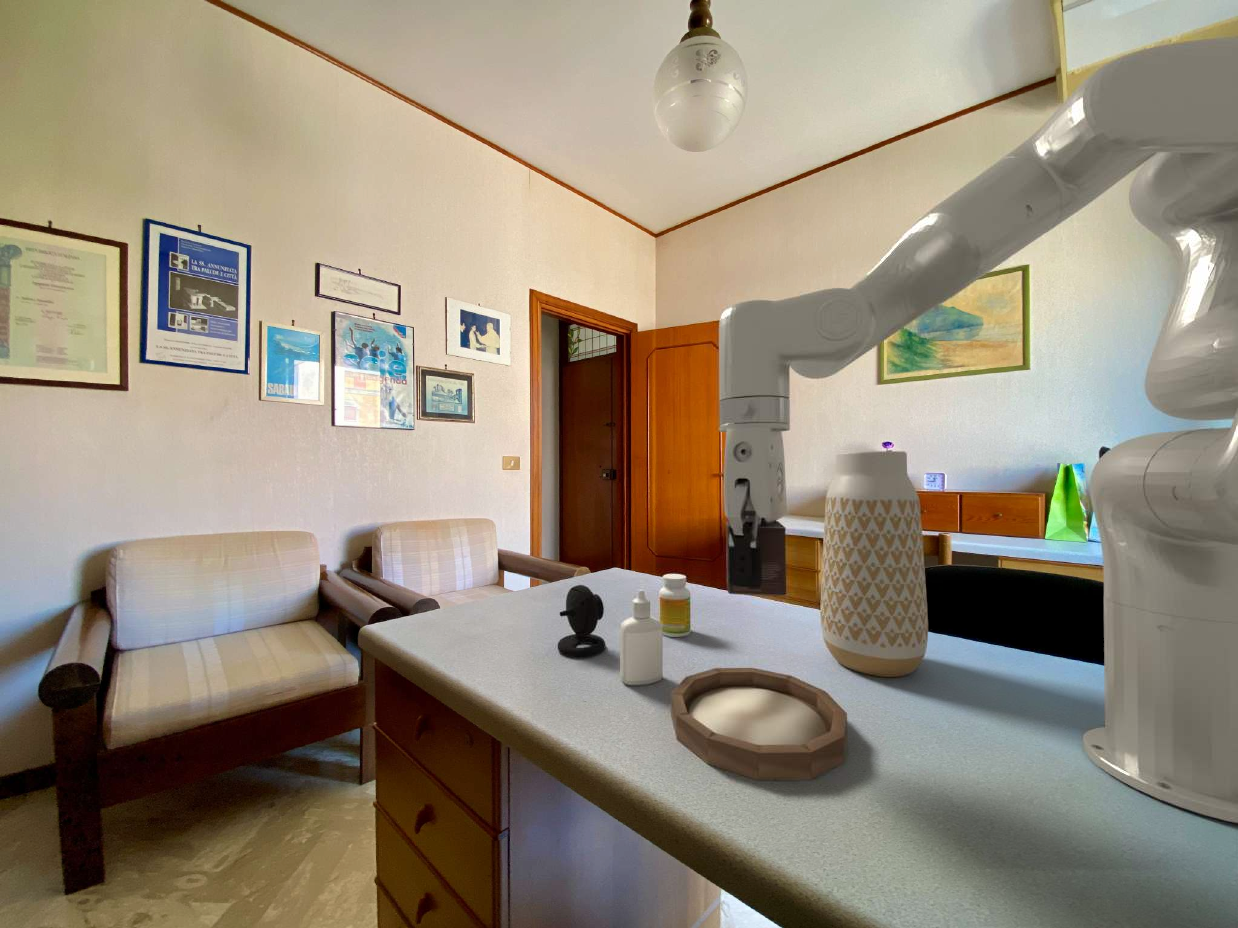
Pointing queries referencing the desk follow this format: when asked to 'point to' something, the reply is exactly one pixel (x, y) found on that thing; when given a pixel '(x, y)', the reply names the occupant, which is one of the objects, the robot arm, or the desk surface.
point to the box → (766, 561)
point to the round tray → (759, 723)
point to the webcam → (582, 623)
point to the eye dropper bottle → (641, 645)
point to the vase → (874, 566)
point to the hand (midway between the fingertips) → (754, 576)
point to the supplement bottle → (674, 606)
